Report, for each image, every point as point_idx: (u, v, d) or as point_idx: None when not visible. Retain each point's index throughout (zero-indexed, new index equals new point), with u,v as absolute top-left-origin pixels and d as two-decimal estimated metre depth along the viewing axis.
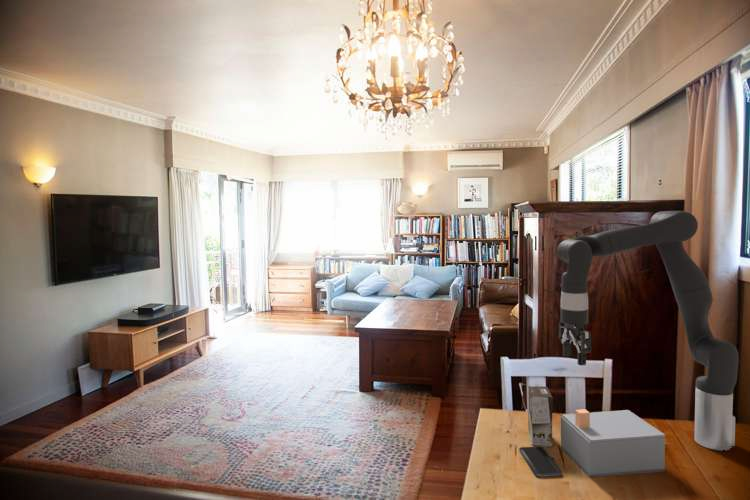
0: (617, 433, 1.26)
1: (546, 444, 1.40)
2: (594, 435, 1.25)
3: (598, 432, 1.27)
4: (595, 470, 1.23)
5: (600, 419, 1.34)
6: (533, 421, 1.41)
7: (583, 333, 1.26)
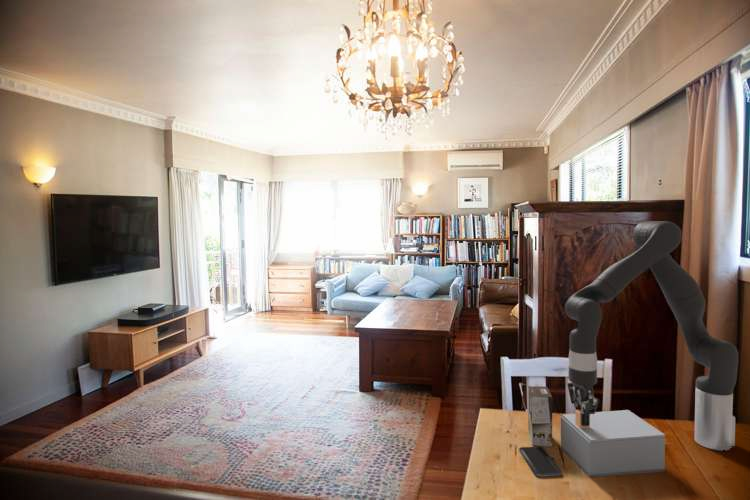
0: (617, 433, 1.26)
1: (546, 444, 1.40)
2: (594, 435, 1.25)
3: (598, 432, 1.27)
4: (595, 470, 1.23)
5: (600, 419, 1.34)
6: (533, 421, 1.41)
7: (591, 401, 1.24)
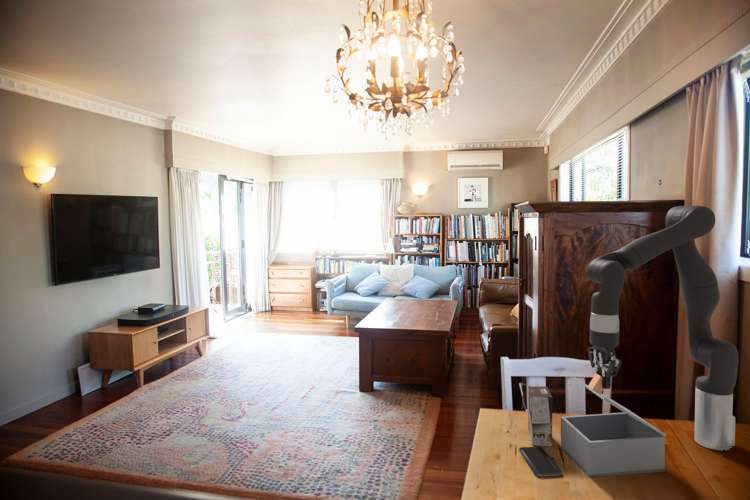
0: (625, 410, 1.25)
1: (546, 444, 1.40)
2: (606, 398, 1.25)
3: (609, 400, 1.26)
4: (595, 470, 1.23)
5: (608, 398, 1.34)
6: (533, 421, 1.41)
7: (614, 363, 1.23)
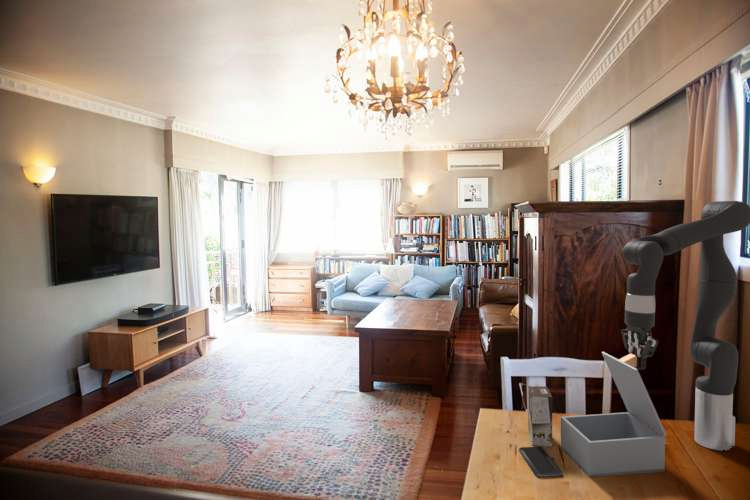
0: None
1: (546, 444, 1.40)
2: None
3: None
4: (595, 470, 1.23)
5: None
6: (533, 421, 1.41)
7: (650, 342, 1.24)
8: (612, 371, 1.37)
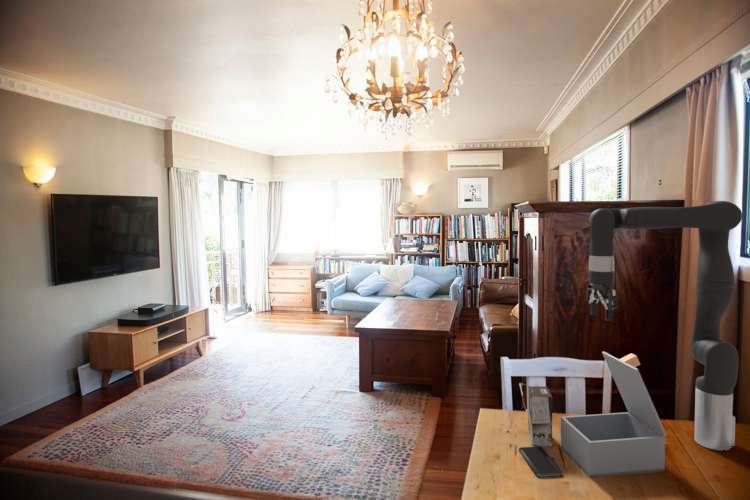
0: None
1: (546, 444, 1.40)
2: None
3: None
4: (595, 470, 1.23)
5: None
6: (533, 421, 1.41)
7: (611, 291, 1.40)
8: (612, 371, 1.37)
